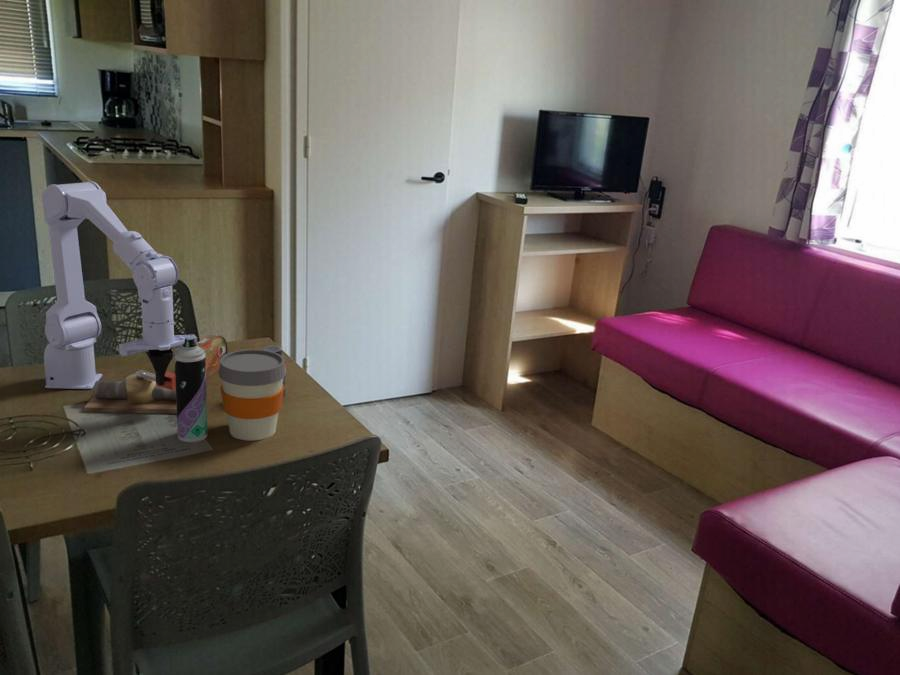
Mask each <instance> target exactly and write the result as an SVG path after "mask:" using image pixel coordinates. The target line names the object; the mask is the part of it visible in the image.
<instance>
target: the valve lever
mask: <svg viewBox="0 0 900 675" xmlns="http://www.w3.org/2000/svg"><path fill="white" fill-rule="evenodd" d="M135 374H136V378H137V379H144V378H145V379H149V380H152V381H156V372H155V373H152V372H149V371H146V370H144V369H139V370H136V371H135ZM164 378H165V385H161V386H160V387H163V388H167V389H170V390H174V389H176V383H175V372H170V371H167V370H166V373H165V376H164ZM156 386H159V385H158V384H157V382H156Z"/></svg>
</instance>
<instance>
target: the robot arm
mask: <svg viewBox="0 0 900 675" xmlns="http://www.w3.org/2000/svg"><path fill="white" fill-rule="evenodd" d="M40 195H41V201H42V202H41V203H42V208H43V210H42V211H43V218H44V223H45V224H47V229H48V230H47V231H48V236H49V238H48V239H49V244H50V254H51V261H52V262H51V263H52V269H53V277H54V286H55V291H56V292H55V293H56V300H57V301H55V303H54V304H52V305H51V307H50V308H49V309H48V310H47V311H46V312H45V317H46V318H45V320H46V321H45V327H44V334H45V337H46V339H47V341H48V342H49V343H48V344H47V345H46V347H45V349H44V354H43V365H44V373H45V374H44V376H45V384H46V385H44V388H45V389H67V390H68V389H69V390H70V389H71V390H92V389H94V385H95V382H96V381H100V379H101V378H102V377H103V374H102V373H97V372H96V362H95V361H96V360H95V348H94V347H95V346H94V344H95V343H97V338H98V337H99V336H100V335H101V332H102V323H101V319H100V317H99V314H98V311H97V306H96V305H94V304H93V303H91V302H89V301H88V300H86V297H85V286H84V280H83V279H84V278H83V272H82V271H83V270H82V262H81V253H80V245H79V244H80V243H79V234H78V227H79V225H81V223H83V221H84V220H86V219H87V220H88V221H90V222H91V223H92V224H94V226H96V228H98V230H100V231H101V232H102V233H103V234H104V235H105V236H106V237H107V238H109V239H110V240H111V241H112V242H113V243H112V244H113V245H112V250H113V252H114V253H115V254H116V255H117V256H118V258H120V260H122V262H123V263H124V264H125V265H126V266H127V267H128V268H129V269H130V270H131V272H133V273H132V279H133V282H134V284H135V286H136V289H137V295H138V298H139V299H140V303H141V321H142V322H141V323H142V324H141V325H142V338H140V339H136V340H132V341H127V342H124V343H118V352H119V355H120V356H121V357H127V356H128V355H133V354H140V353H146V356H147V357H148V358H149V360H150V362H151V365H152V368H153V369H154V372H155V373H156V382H157V384H158V385H159V386H161V385H165V378H164V376H165V373H166V371H167V370H168V368H169V365H170V363H171V361H172V359H174V352H173V350H172V349H178V348H180V347H182V345H183V344H184V343H185V339H186V338H189V339H194V342H195V343H196V344H197V342H198V337H197V336H196V334H181V335H180V334H176V335H175V331H174V330H175V328H174V324H175V322H174V300H173V299H174V298H173V286H174V285H176V284H177V282H178V280H179V275H180V274H179V269H178V266H177V264H176V263H175V261H174V260H173V258H172V257H170V256H168V255H163V254H162V253H158V252H157V251H155V249H154V248H153V247H152V246H151V245H150V244H149V243H148V242H147V241H146V240H145V239H144V238H143V236H142V235H141V233H140V232H137V231H135V230H134V231H133V230H128V229H127V228H126V227H125V225H124V224H123V222H121V220H120V219H119V218H118V216H117V215H116V213H114V211H113V210H112V209H111V207H110V206H109V205H108V204H107V196H106V195H107V194H106V192H105V191H104V190H103V189H102V188H101V186H100V185H99V184H98V183H97V182H95V181H92V180H90V181H86V182H75V183H74V182H73V183H62V184H53V183H52V184H48V186H46V188H45V189H44V190H43V191H42V193H41V194H40Z"/></svg>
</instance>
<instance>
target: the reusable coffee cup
mask: <svg viewBox="0 0 900 675" xmlns="http://www.w3.org/2000/svg"><path fill="white" fill-rule="evenodd" d="M281 355H282V354H281ZM281 355H279V354H277V353H275V352H272V351H267V350H263V349H253V348H252V349H240V350H235V351H232V352H227V354H226V355H224V356H223V357H222V358H221V360H220V367H219V371H218V376H219V378H220V380H221V386H220V394H221V400H222V406H223V411H224V412H225V413H226V416H227V422H228V431H229V434H230V435H231V436H232V437H233V438H235V439H238V440H242V441H252V442H253V441H260V440H265V439H268V438H271V437H272V436H273V435H274V434H275V433H276V431H277V425H278V424H277V423H278V418H279V412H280V411H281V410H282V404H283V398H284V397H283V391H284V385H283V384H282V383H283V377H284V376H285V373H286V374H287V371H286V372H285V363H284V358H285V357H284V356H283V355H282V356H283V357H284V358H283V357H282V356H281Z"/></svg>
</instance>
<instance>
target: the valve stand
mask: <svg viewBox="0 0 900 675" xmlns="http://www.w3.org/2000/svg"><path fill="white" fill-rule="evenodd" d="M83 409H84V413H114V414H115V413H121V414H122V413H123V414H124V413H125V414H126V413H127V414H130V413H131V414H173V415H174V414H176V415H177V406H176V389H174V390H170V389H167V388H163V387H160V386H156V381H152V380H149V379H145V378H144V379H137V378H136V373H132V374H130V375H128V376H126V377H125V381H123V380H122V381H118V380H116V381H115V380H98V381H96V382H95V385H94V387H93V396H91V398H90V399H89V401H88V402H87V403H86V404H85V406H84V408H83Z"/></svg>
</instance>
